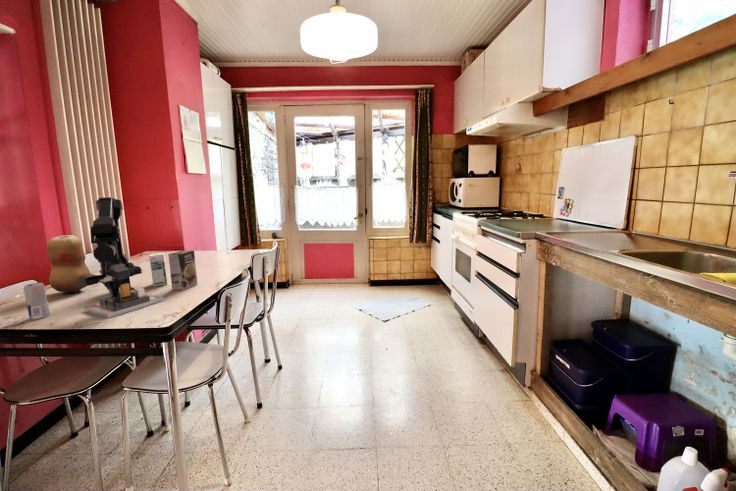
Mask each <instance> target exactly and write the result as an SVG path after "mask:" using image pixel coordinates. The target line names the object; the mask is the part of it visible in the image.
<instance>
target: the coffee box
mask: <svg viewBox="0 0 736 491" xmlns="http://www.w3.org/2000/svg"><path fill="white" fill-rule="evenodd" d="M195 256H196V255H195V250H179V251H176V252H172V253H168V263H169V272H170V280H171V289H172V290H176V291H185V290H188V289H190V288H192V287H195V286H198V284H199V283H198V275H197V267H196V266H197V265H196V257H195Z"/></svg>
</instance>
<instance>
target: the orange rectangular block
mask: <svg viewBox="0 0 736 491" xmlns="http://www.w3.org/2000/svg"><path fill="white" fill-rule="evenodd" d="M130 284H131V283H130ZM130 284H128V283H124V284H121V285H120V293H121V296H122V297H126V296H130V295H131V294H130V292H131V290H130V287H129V285H130Z"/></svg>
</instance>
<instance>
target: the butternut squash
mask: <svg viewBox="0 0 736 491" xmlns="http://www.w3.org/2000/svg"><path fill="white" fill-rule="evenodd" d="M46 247H47V256H48V259H49V262H50V264H51V270H50V274H49V279H48V281H49V285H50V286H51V288H52V289H53V290H55V291H56V292H59V293H60V292H61V293H67V294H72V293H78V292H79V291H81V290H82V289H85V288H87V287H88V286H85V285H81V284H79V277H80V276H84V275H89V274H91V272H90V269H89V268H88V266H87V264H86V262H85V261H86V255H85V253H84V249H83V243H82V240H81V239H80V238H79V237H77V236H76V235H73V234H67V235H66V234H65V235H64V234H63V235H58V236H55V237H52V238H51V239H49V240H48V242H47V244H46Z"/></svg>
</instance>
